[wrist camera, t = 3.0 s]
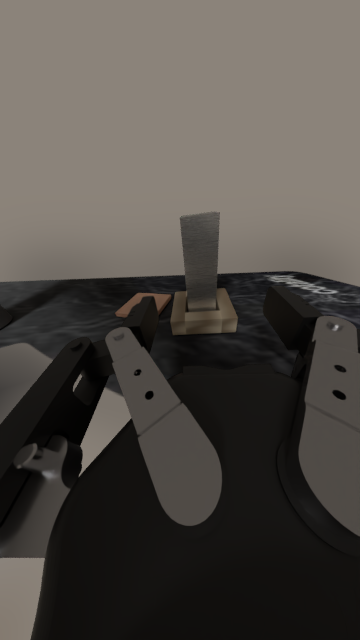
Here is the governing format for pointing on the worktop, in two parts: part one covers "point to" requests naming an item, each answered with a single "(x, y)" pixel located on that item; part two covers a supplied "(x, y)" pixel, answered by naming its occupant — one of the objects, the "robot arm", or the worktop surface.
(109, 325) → the worktop surface
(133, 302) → the tile
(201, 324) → the socket block
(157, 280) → the worktop surface
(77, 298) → the worktop surface
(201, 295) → the grey tapered block
